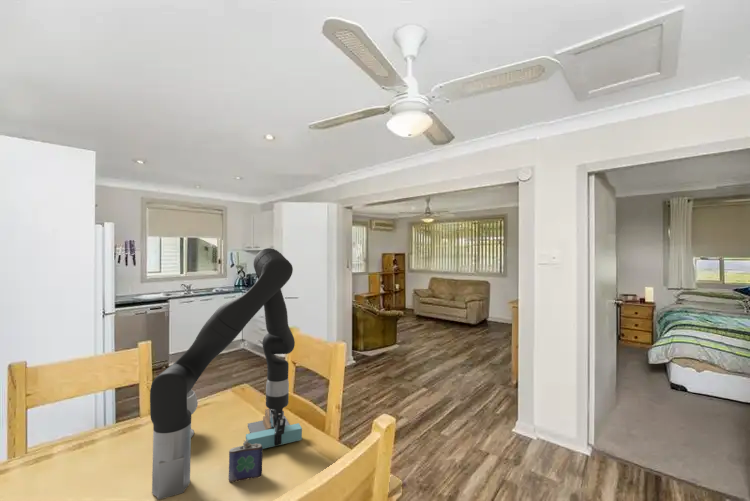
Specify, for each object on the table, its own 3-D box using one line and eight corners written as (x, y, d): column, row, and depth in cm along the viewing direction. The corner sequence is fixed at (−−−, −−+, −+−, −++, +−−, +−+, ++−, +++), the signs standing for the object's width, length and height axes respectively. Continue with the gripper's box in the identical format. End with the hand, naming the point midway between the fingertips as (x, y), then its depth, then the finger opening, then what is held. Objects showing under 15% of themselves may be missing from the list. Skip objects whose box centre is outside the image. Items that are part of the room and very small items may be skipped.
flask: (228, 483, 100) (229, 445, 100) (228, 477, 103) (229, 440, 103) (262, 477, 103) (262, 440, 103) (262, 471, 106) (262, 435, 106)
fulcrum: (294, 435, 127) (294, 418, 127) (253, 444, 120) (254, 426, 120) (284, 418, 139) (285, 403, 139) (247, 426, 132) (247, 410, 132)
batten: (301, 439, 122) (301, 428, 122) (247, 452, 114) (247, 440, 114) (298, 434, 126) (298, 423, 126) (245, 446, 117) (245, 434, 117)
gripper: (294, 397, 116) (292, 449, 116) (283, 382, 128) (281, 429, 128) (270, 401, 112) (269, 454, 112) (262, 385, 124) (260, 434, 124)
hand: (276, 440), depth 120 cm, fingers closed on batten, 4 cm apart
